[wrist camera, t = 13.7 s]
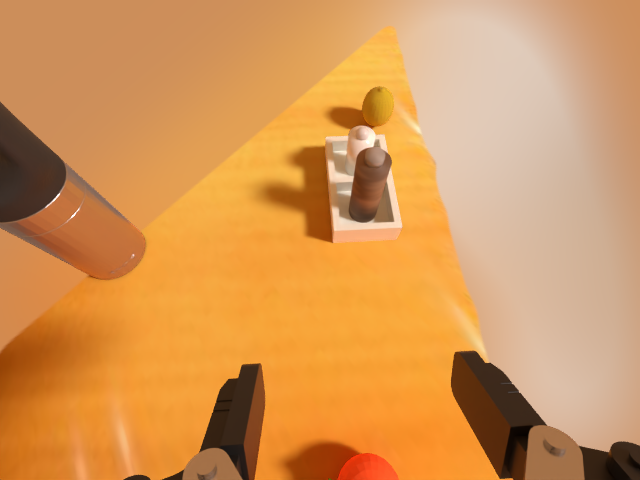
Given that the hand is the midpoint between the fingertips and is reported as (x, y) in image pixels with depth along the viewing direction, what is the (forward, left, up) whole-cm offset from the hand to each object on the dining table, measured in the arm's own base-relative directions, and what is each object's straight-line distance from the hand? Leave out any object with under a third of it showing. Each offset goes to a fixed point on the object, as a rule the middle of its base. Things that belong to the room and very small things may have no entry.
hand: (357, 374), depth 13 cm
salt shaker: (-20, +28, -29) cm, 45 cm away
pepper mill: (-14, +22, -29) cm, 39 cm away
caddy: (-17, +25, -31) cm, 43 cm away
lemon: (-25, +39, -31) cm, 56 cm away
